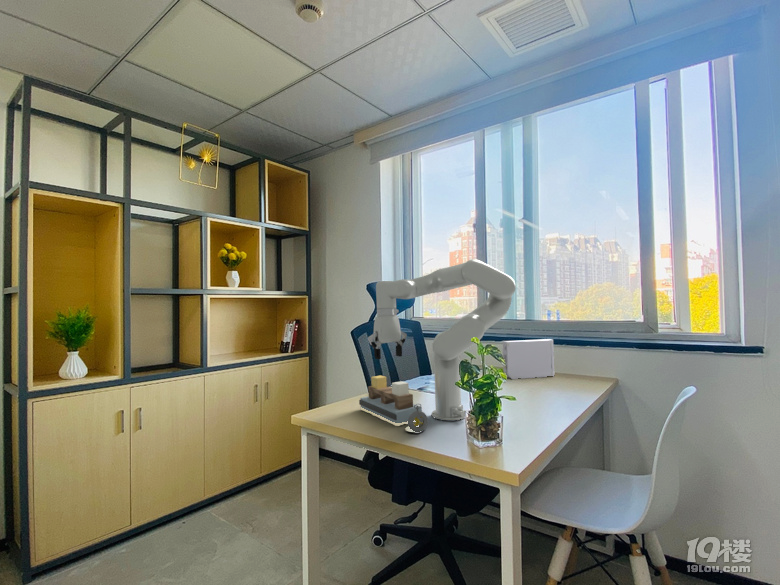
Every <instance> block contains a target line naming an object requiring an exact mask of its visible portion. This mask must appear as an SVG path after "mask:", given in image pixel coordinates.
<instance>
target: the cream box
mask: <svg viewBox="0 0 780 585" xmlns="http://www.w3.org/2000/svg"><path fill="white" fill-rule="evenodd" d="M391 388H392V394H394V395H397V396H402V395H407V394H409V393H410V390H409V388H410V387H409V382H405V381H403V380H402V381H395V382H392V383H391Z"/></svg>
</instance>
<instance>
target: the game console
mask: <svg viewBox="0 0 780 585" xmlns="http://www.w3.org/2000/svg"><path fill="white" fill-rule="evenodd" d="M554 348H555V347H554V339H552V338H547V339H546V338H544V339H543V338H542V339H525V340H524V339H523V340H502V358H503V357H504V359H505V362H506V366H504V365H503V364H502V365H503V373H504V372H505V373H506V375H507V376H506V375H505V376H506V377H507V378H509V379H511V380H518V378H521V379H533V378H534V379H536V378H535V377H537V378H548V377H547V376H553V377H555V376H554V375H555V352H554V350H555V349H554Z"/></svg>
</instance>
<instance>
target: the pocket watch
mask: <svg viewBox="0 0 780 585" xmlns="http://www.w3.org/2000/svg"><path fill="white" fill-rule="evenodd" d="M415 405H418V406H420V407H422V404H421V403H415ZM415 405H414V408H415ZM418 406H417V407H416V409H417V411H415V412H413V413H412V414H411V415H410V417H409V419H408V424H407V426H409V427H410V429H412V430H413V431H415V432H420V431H422V430H424V431H425V429H426V428H427V426H428V421H429V420H428V419H429V418H428V416H427V414H426V413H425V412H424V411H423V410H422V411H418V409H419V408H420V407H418ZM414 419H415V421H416V422H413V421H414ZM418 425H419V427H416V426H418ZM420 433H421V432H420Z"/></svg>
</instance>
